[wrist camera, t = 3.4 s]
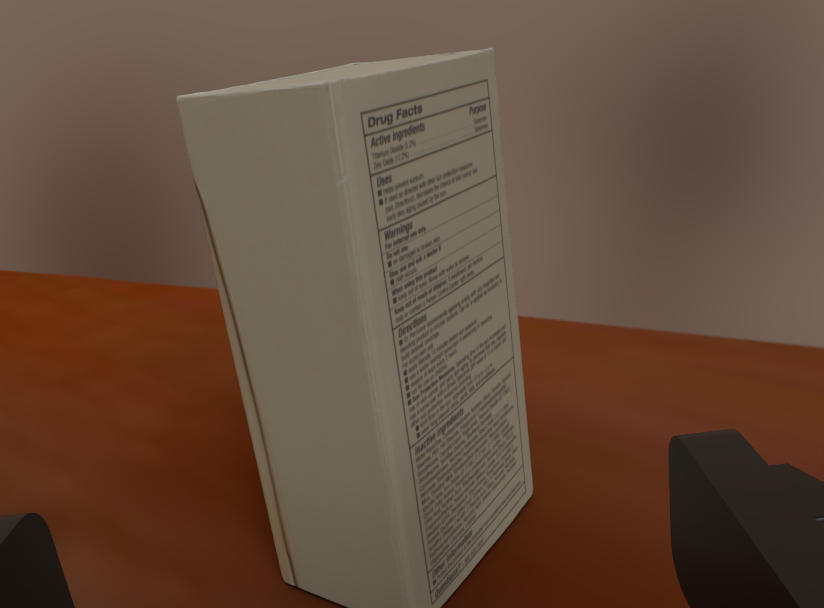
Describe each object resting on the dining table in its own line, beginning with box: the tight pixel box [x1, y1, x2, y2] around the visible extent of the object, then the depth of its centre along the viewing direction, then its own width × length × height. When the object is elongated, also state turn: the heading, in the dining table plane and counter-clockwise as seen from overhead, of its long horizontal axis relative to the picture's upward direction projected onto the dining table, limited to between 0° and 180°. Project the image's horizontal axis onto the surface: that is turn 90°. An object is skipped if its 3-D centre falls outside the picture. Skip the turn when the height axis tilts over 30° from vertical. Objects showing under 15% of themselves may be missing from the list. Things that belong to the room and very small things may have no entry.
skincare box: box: [176, 48, 533, 608], centre depth 19 cm, size 6×4×12 cm
